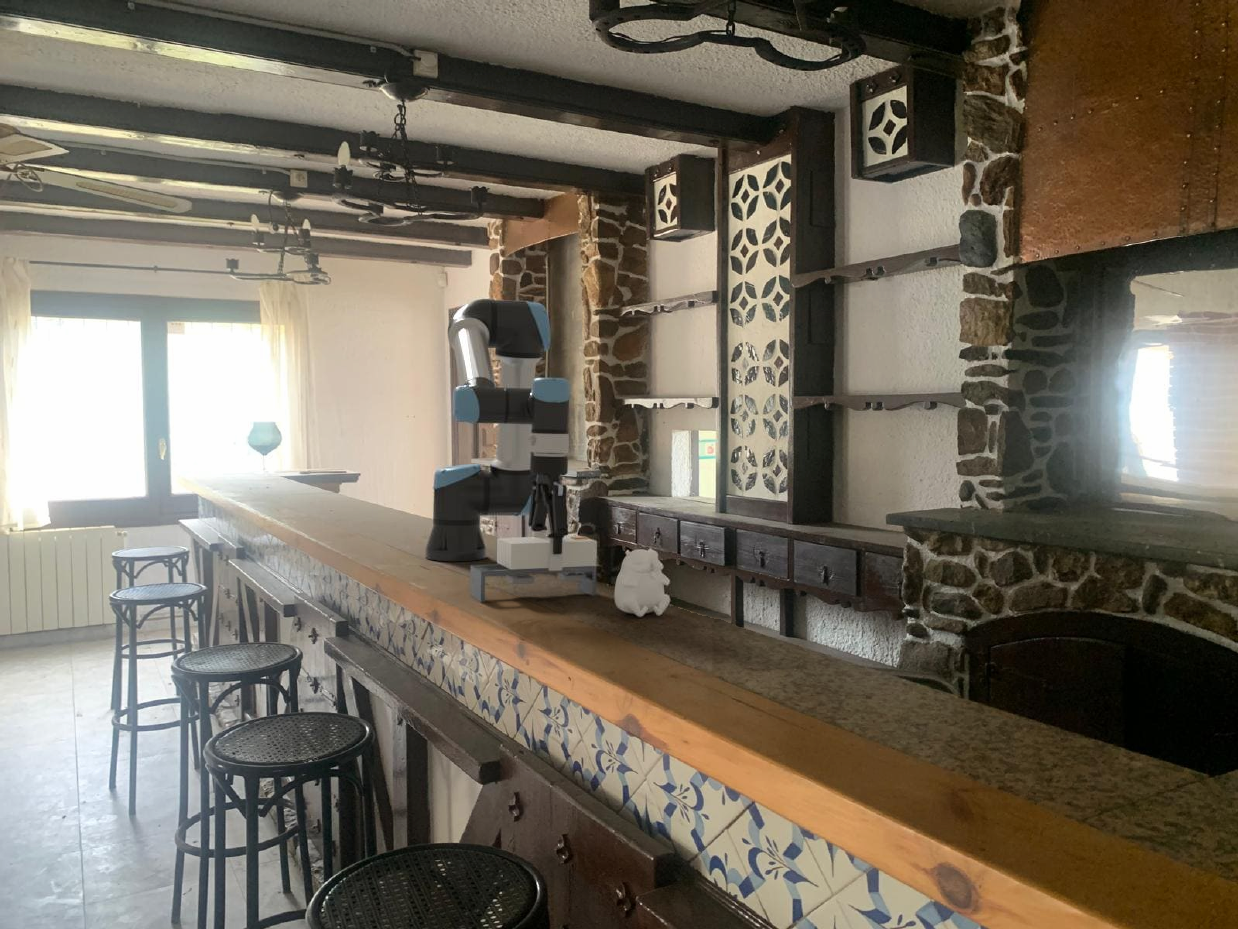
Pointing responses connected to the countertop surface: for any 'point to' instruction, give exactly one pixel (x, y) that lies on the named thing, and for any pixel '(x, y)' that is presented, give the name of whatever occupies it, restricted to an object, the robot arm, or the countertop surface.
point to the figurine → (641, 584)
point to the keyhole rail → (495, 569)
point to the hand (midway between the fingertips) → (546, 566)
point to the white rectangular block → (545, 556)
